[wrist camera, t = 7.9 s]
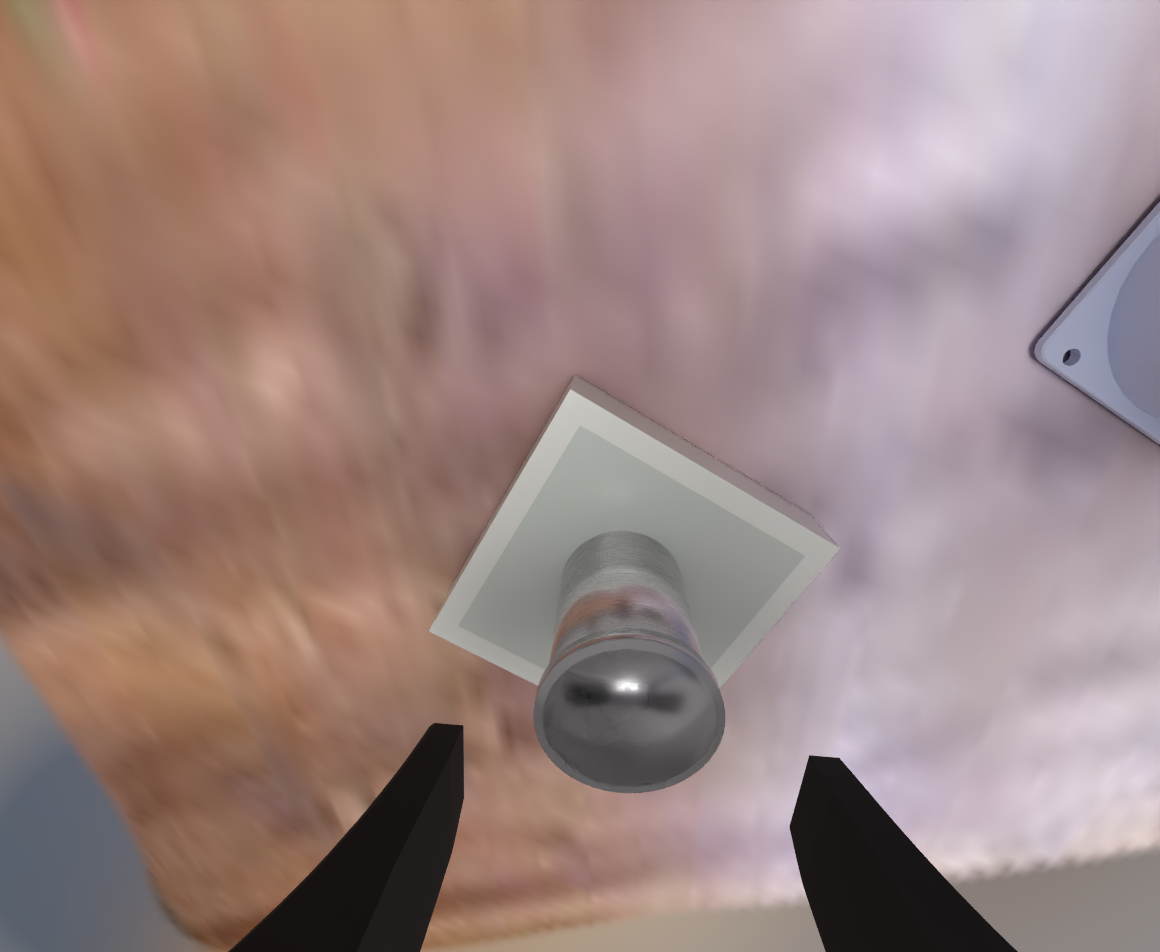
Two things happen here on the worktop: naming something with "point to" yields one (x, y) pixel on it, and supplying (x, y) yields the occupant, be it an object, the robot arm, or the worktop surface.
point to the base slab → (636, 504)
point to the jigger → (626, 672)
